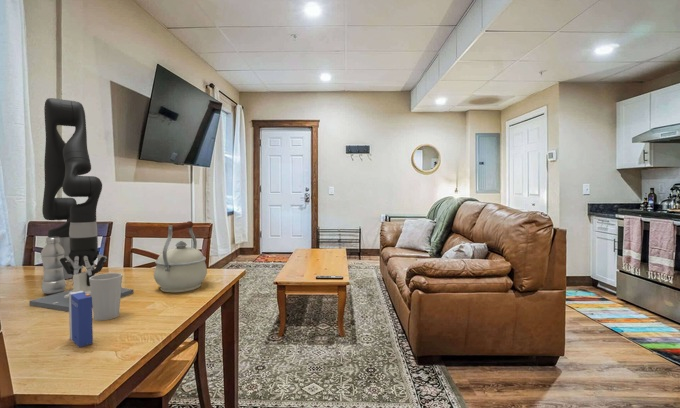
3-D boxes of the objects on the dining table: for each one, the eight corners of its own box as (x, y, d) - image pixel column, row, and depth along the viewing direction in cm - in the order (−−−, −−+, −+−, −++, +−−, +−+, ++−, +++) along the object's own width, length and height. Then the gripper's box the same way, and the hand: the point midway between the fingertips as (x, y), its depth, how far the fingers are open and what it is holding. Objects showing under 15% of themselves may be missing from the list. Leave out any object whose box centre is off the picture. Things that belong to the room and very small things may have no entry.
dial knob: (81, 290, 117) (81, 269, 117) (104, 290, 118) (104, 269, 117) (52, 302, 106) (52, 278, 105) (78, 302, 106) (78, 279, 105)
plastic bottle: (52, 296, 115) (50, 239, 114) (36, 295, 117) (35, 238, 116) (70, 291, 122) (69, 236, 121) (55, 290, 123) (54, 235, 122)
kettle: (190, 297, 117) (189, 226, 116) (139, 295, 118) (139, 225, 117) (219, 278, 142) (219, 219, 141) (178, 276, 143) (177, 219, 142)
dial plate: (29, 305, 107) (29, 300, 107) (91, 287, 126) (91, 283, 126) (75, 312, 101) (75, 307, 101) (133, 293, 120) (133, 288, 120)
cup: (87, 323, 94) (86, 281, 93) (92, 313, 101) (92, 274, 100) (121, 318, 97) (120, 278, 97) (124, 309, 104) (123, 271, 104)
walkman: (93, 343, 82) (92, 295, 81) (79, 347, 80) (78, 298, 79) (82, 334, 87) (82, 288, 86) (69, 338, 85) (68, 291, 84)
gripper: (112, 233, 118) (112, 281, 119) (66, 234, 115) (67, 283, 116) (102, 236, 111) (103, 288, 112) (52, 237, 108) (54, 290, 108)
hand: (84, 285), depth 114 cm, fingers closed on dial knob, 2 cm apart
